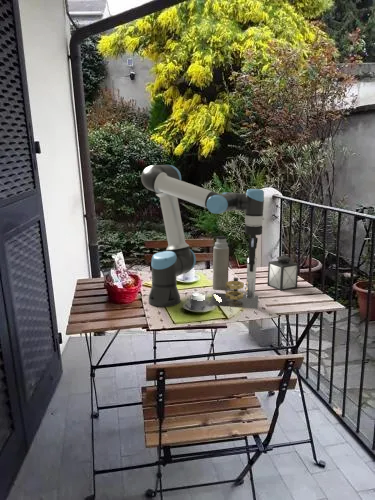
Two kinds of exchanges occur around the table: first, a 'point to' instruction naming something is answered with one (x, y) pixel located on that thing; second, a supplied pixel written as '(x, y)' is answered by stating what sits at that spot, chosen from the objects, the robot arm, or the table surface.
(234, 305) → the collar stand
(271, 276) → the lantern
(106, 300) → the table surface
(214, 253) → the thermos bottle
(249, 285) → the tube
